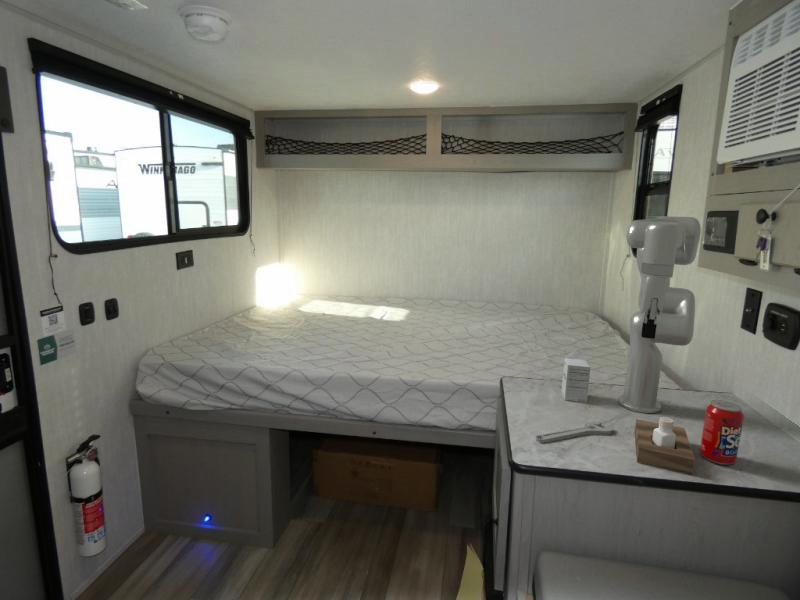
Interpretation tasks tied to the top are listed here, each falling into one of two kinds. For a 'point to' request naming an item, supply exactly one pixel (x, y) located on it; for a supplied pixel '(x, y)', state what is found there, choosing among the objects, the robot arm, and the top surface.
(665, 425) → the pepper shaker
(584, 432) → the adjustable wrench
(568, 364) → the supplement box
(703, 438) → the soda can
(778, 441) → the top surface
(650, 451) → the socket block
